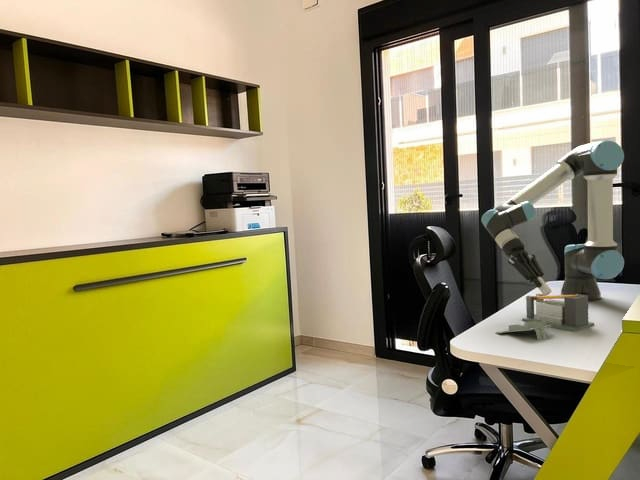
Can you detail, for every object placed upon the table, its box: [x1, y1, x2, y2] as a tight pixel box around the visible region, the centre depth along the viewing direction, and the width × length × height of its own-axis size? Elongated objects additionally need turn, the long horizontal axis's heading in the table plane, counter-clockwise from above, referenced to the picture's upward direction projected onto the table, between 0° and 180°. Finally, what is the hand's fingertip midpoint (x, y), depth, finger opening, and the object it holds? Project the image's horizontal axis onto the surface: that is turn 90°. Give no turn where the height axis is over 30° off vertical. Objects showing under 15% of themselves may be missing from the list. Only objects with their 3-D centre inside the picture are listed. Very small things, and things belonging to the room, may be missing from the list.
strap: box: [534, 294, 578, 301], centre depth 169 cm, size 16×3×1 cm, turn 29°
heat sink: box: [525, 293, 565, 325], centre depth 171 cm, size 14×9×8 cm, turn 29°
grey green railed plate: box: [521, 314, 595, 332], centre depth 169 cm, size 19×12×1 cm, turn 29°
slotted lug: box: [563, 294, 589, 327], centre depth 163 cm, size 4×7×10 cm, turn 119°
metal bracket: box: [495, 320, 552, 340], centre depth 158 cm, size 14×6×15 cm
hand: (548, 293), depth 170 cm, fingers closed
